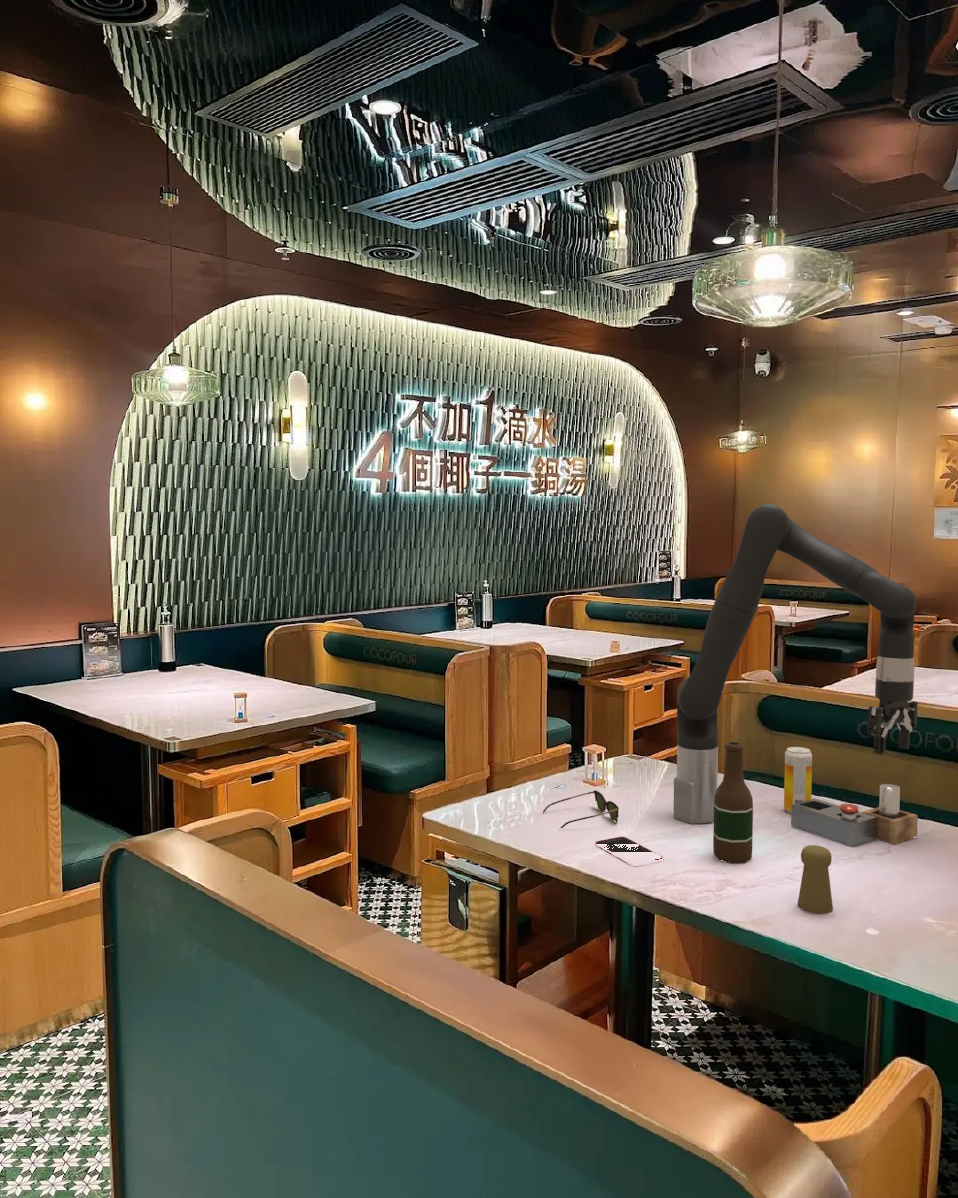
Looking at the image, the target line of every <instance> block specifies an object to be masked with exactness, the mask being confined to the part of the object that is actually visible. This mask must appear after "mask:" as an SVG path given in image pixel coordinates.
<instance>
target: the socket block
mask: <svg viewBox="0 0 958 1198" xmlns="http://www.w3.org/2000/svg"><path fill="white" fill-rule="evenodd" d="M790 817H791V825H790V826H791V827H793V828H797V829H799V830H802V831H804V832H805V831H806V832H808V833H811V834H813V835H817V836H820V837H823V838H826V839H829V840H831V841H834V842H836V843H840V844H843V845H846V846H849V847H852V848H854V847H858V846H861V845H864V844H867V843H871V842H873V841H877V839H876V833H877V817H875V816H871V815H868V814H865V813H862V811H858V813H857V818H856V819H852V820H850V819H847V818H844V817H842V811H841V810H840V805H839V804H835V803H831V802H828V801H825V800H820V799H819V798H811V800H807V801H803V802H799V803H795V804H792V814H791V815H790Z"/></svg>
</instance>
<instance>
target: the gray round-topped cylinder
mask: <svg viewBox="0 0 958 1198" xmlns="http://www.w3.org/2000/svg"><path fill="white" fill-rule="evenodd" d="M900 794H901V787H900V786H898V785H897V784H892V783H881V784H879V805H878V807H879V815H881V816H884V817H888V818H891V819H896V818H899V810H900V802H901V801H900V799H901V795H900Z"/></svg>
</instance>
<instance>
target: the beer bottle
mask: <svg viewBox="0 0 958 1198" xmlns="http://www.w3.org/2000/svg"><path fill="white" fill-rule="evenodd" d="M724 749H725V760H724V771H723V778H722V781H721V782H720V784H718V786H717V790H716V793H715V797H714V822H713V832H712V833H713V837H712V838H713V840H712V841H713V842H712V845H713V854H714V856H715V857H716V859H717V858H718V859H717V860H718V861H720V860H723V861H722V862H724V861H726V862H725V863H728V862H729V863H728V864H746V863H747V862H748V861H750V860H751V859H752V857H753V837H754V835H753V833H754V832H753V829H754V827H753V826H754V825H753V824H754V819H753V818H754V802H753V796H752V794H751V791H750V789H749V787H748V786H747V784H746V783H745V778H744V777H745V776H744V765H743V760H744V758H743V750H744V745H743V743H741V742H739V741H738V742H737V741H729V742H726V743H725V745H724Z"/></svg>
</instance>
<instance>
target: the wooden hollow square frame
mask: <svg viewBox="0 0 958 1198" xmlns="http://www.w3.org/2000/svg"><path fill="white" fill-rule="evenodd" d="M861 813H865V814H868V815H871V816H875V817H877V833H876V840H879V841H882V842H884V843H888V844H891V845H894V844H895V845H898V844H901V843H903V842H902V841H904V842H906V841H905V840H908V839H911V838H913V837H915V836H917V837H918V814H914V813H912V812H909V811H905V810H902V809H899V818H896V819H891V818H888V817H884V816H881V815H879V806H877V807H874V808H872V809H868V810H863V811H861ZM911 840H912V839H911ZM908 841H909V840H908Z"/></svg>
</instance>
